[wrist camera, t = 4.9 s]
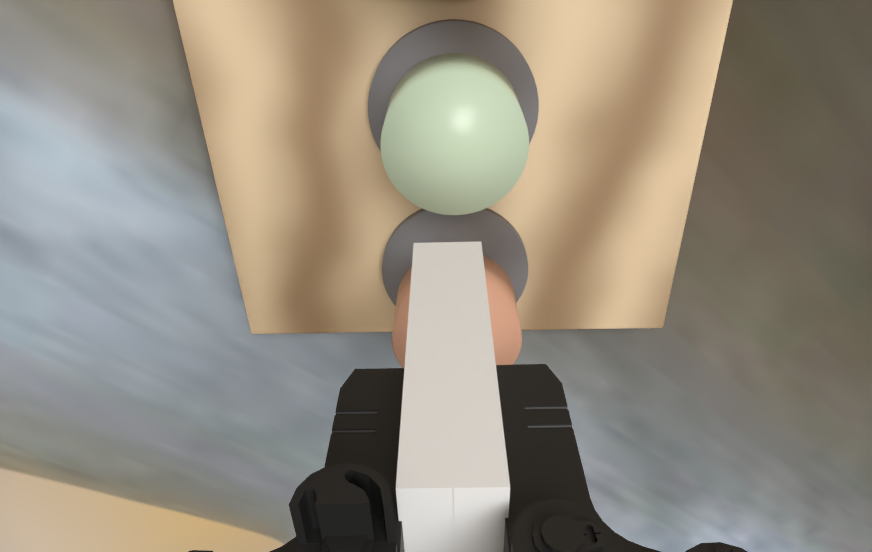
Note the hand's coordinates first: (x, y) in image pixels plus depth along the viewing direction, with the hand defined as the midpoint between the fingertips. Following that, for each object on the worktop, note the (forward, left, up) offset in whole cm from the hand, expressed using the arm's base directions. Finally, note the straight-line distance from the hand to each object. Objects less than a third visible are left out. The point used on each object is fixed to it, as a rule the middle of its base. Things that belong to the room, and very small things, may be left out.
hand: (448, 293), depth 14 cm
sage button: (0, 0, -13) cm, 13 cm away
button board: (0, 0, -16) cm, 16 cm away
